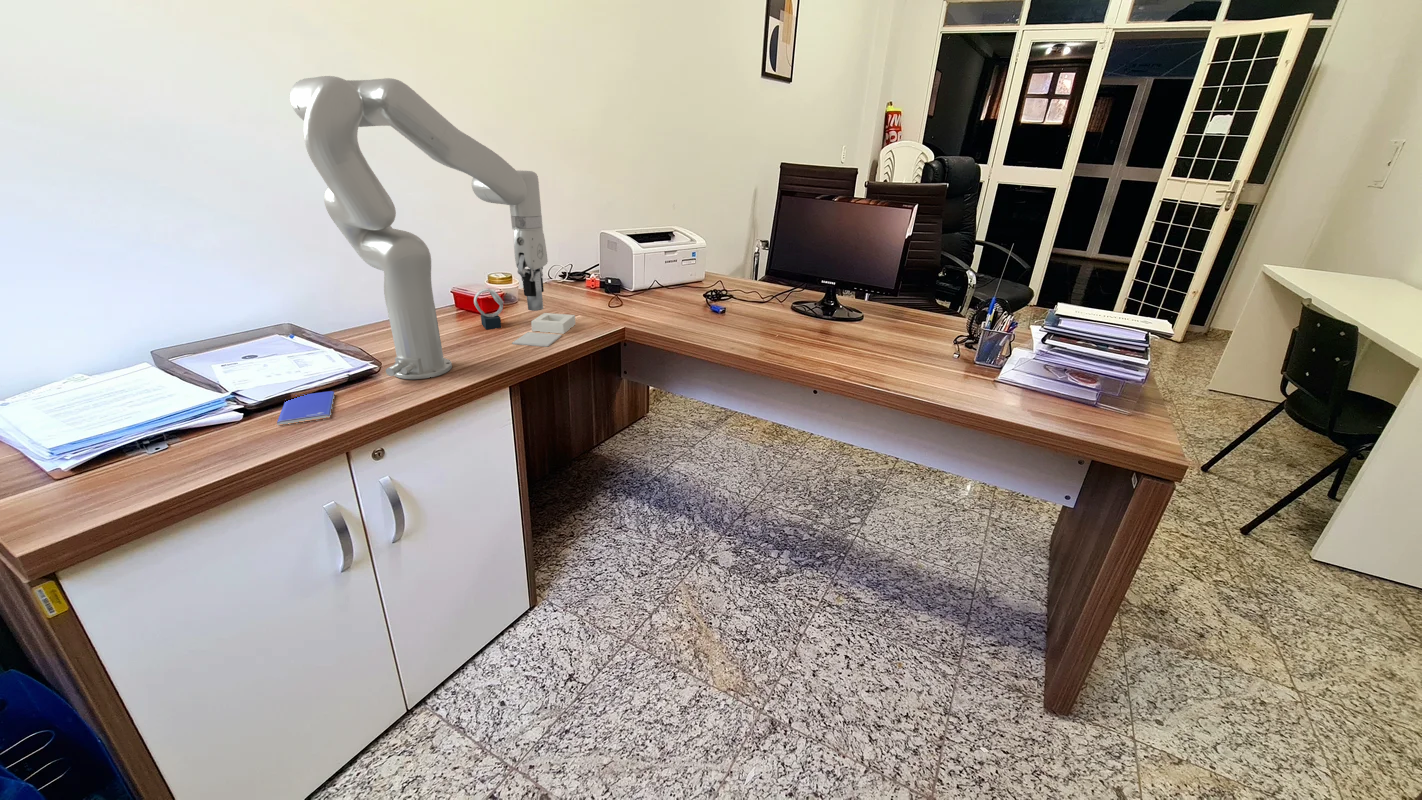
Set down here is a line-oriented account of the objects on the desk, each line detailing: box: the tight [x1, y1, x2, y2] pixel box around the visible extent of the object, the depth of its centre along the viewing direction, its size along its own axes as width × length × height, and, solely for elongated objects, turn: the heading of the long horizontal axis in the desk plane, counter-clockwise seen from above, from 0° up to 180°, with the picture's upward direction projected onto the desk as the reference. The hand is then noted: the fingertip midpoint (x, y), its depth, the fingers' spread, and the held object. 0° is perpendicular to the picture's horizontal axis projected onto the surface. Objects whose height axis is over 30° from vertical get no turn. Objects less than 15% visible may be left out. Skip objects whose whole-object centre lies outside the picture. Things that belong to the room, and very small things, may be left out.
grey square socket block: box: [530, 312, 576, 335], centre depth 164 cm, size 10×10×3 cm
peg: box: [526, 270, 544, 312], centre depth 148 cm, size 4×4×10 cm
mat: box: [511, 331, 562, 348], centre depth 153 cm, size 10×10×1 cm
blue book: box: [276, 390, 335, 426], centre depth 109 cm, size 2×8×12 cm
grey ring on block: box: [473, 288, 505, 330], centre depth 161 cm, size 6×8×11 cm
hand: (534, 293), depth 148 cm, fingers closed on peg, 4 cm apart
